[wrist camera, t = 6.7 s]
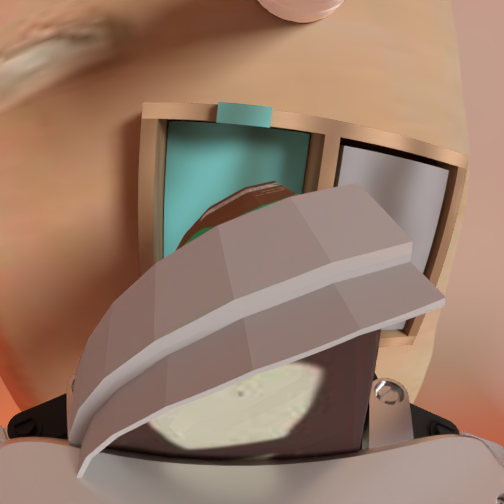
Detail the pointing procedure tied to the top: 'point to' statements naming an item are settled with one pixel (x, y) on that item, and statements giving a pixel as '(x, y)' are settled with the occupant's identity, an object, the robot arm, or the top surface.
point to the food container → (252, 332)
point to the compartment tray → (290, 176)
